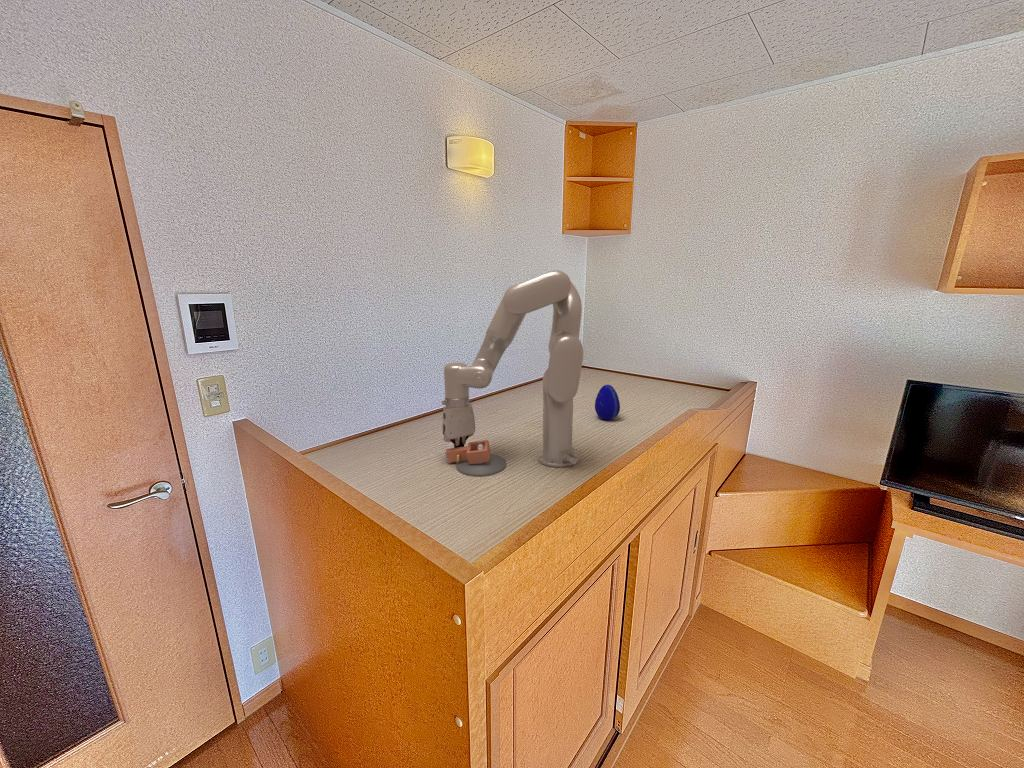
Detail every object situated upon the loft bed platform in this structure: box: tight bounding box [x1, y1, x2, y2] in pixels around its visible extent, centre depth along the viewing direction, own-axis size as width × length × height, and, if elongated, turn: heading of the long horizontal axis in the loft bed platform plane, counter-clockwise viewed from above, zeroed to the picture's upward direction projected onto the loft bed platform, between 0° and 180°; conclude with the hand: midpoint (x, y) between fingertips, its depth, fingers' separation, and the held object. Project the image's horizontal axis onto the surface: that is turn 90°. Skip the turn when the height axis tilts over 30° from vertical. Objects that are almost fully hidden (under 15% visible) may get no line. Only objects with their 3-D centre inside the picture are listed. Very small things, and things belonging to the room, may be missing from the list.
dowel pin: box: [456, 454, 460, 464], centre depth 131 cm, size 1×1×3 cm
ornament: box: [594, 384, 621, 420], centre depth 173 cm, size 11×9×15 cm
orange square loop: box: [445, 439, 492, 464], centre depth 132 cm, size 14×7×4 cm, turn 88°
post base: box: [455, 444, 507, 478], centre depth 131 cm, size 16×16×7 cm
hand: (459, 454), depth 136 cm, fingers closed
